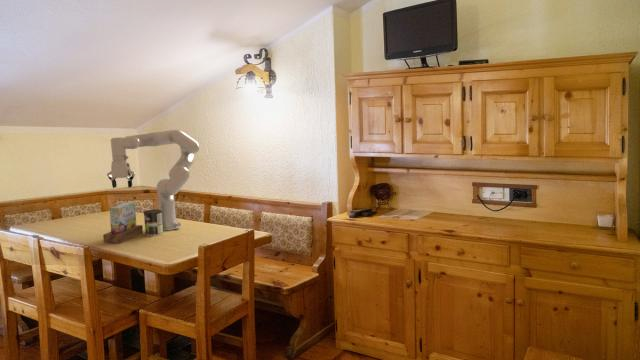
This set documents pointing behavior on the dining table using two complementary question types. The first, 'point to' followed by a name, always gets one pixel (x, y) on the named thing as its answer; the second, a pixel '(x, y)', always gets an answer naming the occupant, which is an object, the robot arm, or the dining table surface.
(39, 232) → the dining table surface
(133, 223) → the snack box
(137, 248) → the dining table surface
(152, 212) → the coffee can
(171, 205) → the robot arm
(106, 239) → the walnut block
